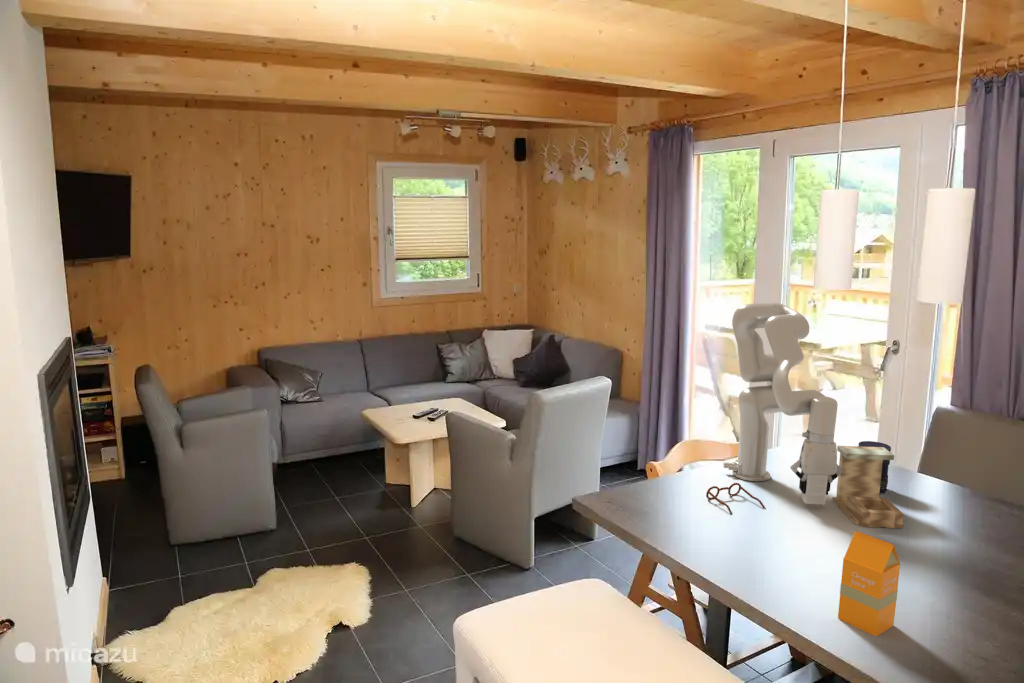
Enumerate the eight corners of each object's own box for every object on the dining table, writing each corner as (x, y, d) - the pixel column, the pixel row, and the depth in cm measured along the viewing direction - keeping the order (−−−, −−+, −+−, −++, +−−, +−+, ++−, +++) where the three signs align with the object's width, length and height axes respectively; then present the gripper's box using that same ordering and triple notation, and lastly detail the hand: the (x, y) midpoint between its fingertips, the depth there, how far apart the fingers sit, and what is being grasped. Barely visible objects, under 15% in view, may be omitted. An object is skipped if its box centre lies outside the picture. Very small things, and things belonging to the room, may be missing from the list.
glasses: (738, 495, 236) (739, 481, 235) (766, 510, 224) (767, 495, 223) (705, 501, 231) (705, 486, 230) (731, 516, 219) (732, 500, 218)
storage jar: (849, 482, 247) (853, 440, 245) (878, 483, 247) (882, 441, 244) (861, 493, 237) (866, 450, 235) (892, 494, 237) (897, 450, 234)
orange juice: (875, 636, 156) (885, 549, 152) (837, 618, 163) (844, 534, 159) (894, 625, 160) (903, 540, 157) (855, 607, 167) (863, 526, 164)
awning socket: (856, 526, 212) (862, 467, 209) (832, 499, 232) (837, 445, 229) (906, 528, 211) (912, 469, 208) (877, 501, 231) (883, 446, 228)
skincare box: (820, 499, 227) (825, 463, 225) (825, 505, 223) (829, 468, 220) (800, 498, 228) (804, 461, 225) (804, 503, 223) (808, 467, 221)
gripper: (794, 439, 218) (788, 495, 222) (854, 442, 217) (847, 499, 220) (787, 431, 225) (782, 486, 229) (845, 434, 224) (838, 489, 228)
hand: (814, 492), depth 225 cm, fingers closed on skincare box, 6 cm apart
